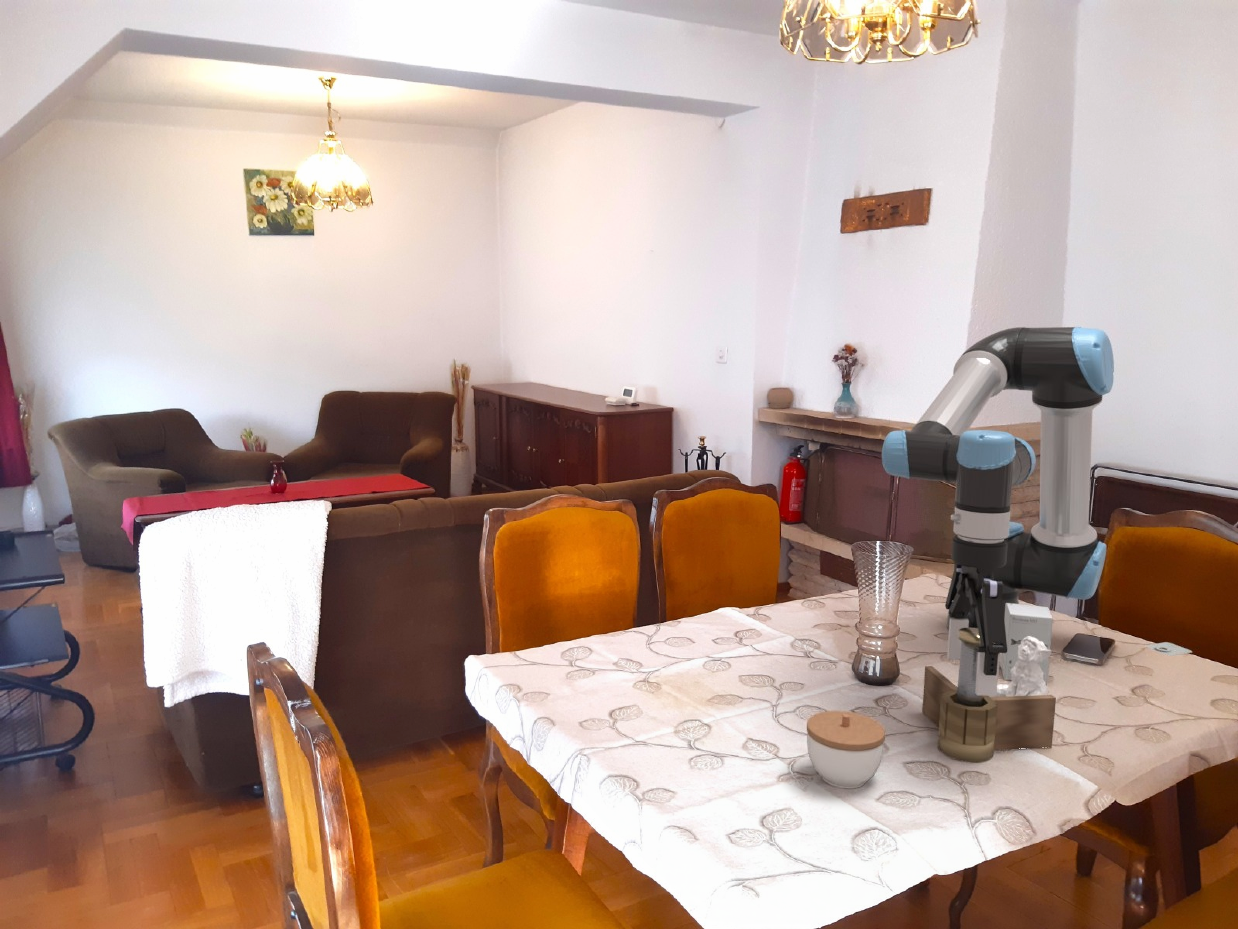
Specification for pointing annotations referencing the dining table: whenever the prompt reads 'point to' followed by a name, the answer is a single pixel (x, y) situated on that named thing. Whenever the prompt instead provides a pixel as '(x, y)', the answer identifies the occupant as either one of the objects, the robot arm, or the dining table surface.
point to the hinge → (986, 721)
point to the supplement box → (1025, 633)
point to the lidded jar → (845, 747)
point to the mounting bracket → (1168, 649)
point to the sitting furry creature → (1027, 671)
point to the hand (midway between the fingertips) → (970, 676)
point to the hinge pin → (968, 668)
